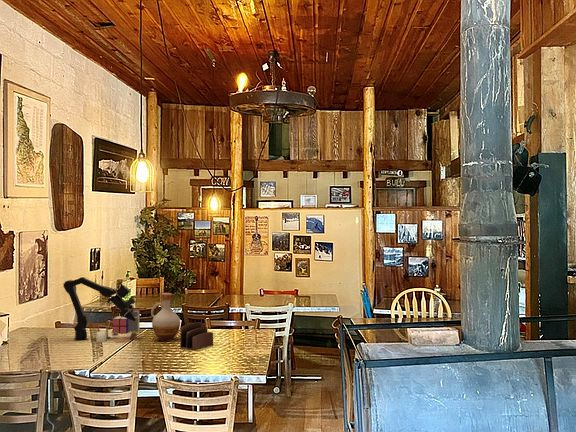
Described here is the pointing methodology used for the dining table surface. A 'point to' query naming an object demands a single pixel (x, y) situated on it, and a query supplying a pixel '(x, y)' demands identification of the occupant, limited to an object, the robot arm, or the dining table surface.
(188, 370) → the dining table surface
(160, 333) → the jug
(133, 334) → the block
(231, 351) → the dining table surface
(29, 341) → the dining table surface
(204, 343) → the letter holder
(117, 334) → the balance
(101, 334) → the beige square piece
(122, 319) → the puzzle cube
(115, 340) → the tile
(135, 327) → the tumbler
